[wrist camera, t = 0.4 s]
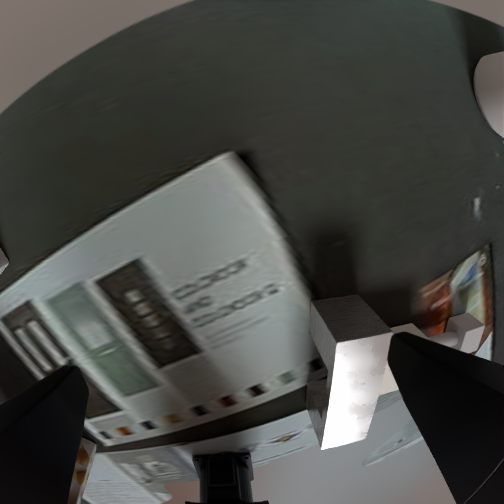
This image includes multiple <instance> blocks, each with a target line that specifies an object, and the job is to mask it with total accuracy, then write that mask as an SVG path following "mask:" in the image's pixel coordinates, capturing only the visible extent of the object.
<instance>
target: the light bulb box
mask: <svg viewBox="0 0 504 504" xmlns="http://www.w3.org/2000/svg"><path fill="white" fill-rule="evenodd" d="M8 264H9V261H8V259H7V258H6V256H5V255H4V253H3V251H2V250H1V248H0V274H1V273H2V272H3V270H4V269H5V268H6V267H7V265H8Z"/></svg>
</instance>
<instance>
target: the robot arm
mask: <svg viewBox="0 0 504 504" xmlns="http://www.w3.org/2000/svg"><path fill="white" fill-rule="evenodd" d="M387 362H388V365H389V368H390V370H391V372H392V375H393V377H394V379H395V382H396V384H397V386H398V389H399V391H400V394H401V396H402V398H403V400H404V402H405V405H406V407H407V408H408V410H409V412H410V414H411V416H412V418H413V419H414V421H415V423H416V425H417V427H418V429H419V430H420V432H421V434H422V436H423V438H424V440H425V442H426V444H427V446H428V447H429V449H430V451H431V453H432V455H433V457H434V459H435V461H436V463H437V465H438V467H439V469H440V471H441V473H442V475H443V477H444V479H445V481H446V483H447V485H448V487H449V489H450V491H451V493H452V495H453V497H454V500H455V502H456V504H504V365H503V366H502V365H501V364H498V363H495V362H492V361H489V360H486V359H484V358H481V357H478V356H475V355H472V354H469V353H466V352H463V351H460V350H457V349H454V348H451V347H448V346H446V345H443V344H440V343H437V342H434V341H431V340H428V339H426V338H423V337H420V336H417V335H414V334H411V333H409V332H406V331H403V332H399V333H395V334H393V335H392V336H391V339H390V345H389V350H388V355H387ZM88 397H89V389H88V386H87V384H86V381H85V379H84V377H83V375H82V372H81V370H80V368H79V367H78V366H76V365H64V366H63V367H61V368H59V369H58V370H56V371H55V372H53V373H51V374H50V375H48V376H46V377H45V378H43V379H42V380H40V381H38V382H37V383H35V384H34V385H32V386H30V387H29V388H27V389H26V390H24V391H22V392H21V393H19V394H17V395H16V396H14V397H13V398H11V399H9V400H8V401H6V402H5V403H3V404H1V405H0V504H68V499H69V493H70V488H71V483H72V478H73V473H74V469H75V464H76V460H77V455H78V451H79V447H80V443H81V439H82V434H83V428H84V421H85V414H86V408H87V402H88ZM192 461H193V463H194V466H195V468H196V471H197V473H198V476H199V478H200V503H195V502H188V501H186V502H185V504H269V502H268V500H267V501H263V502H253V497H252V489H251V481H252V480H253V479H254V478H253V469H252V461H251V454H250V453H237V454H222V455H196V456H193V458H192Z"/></svg>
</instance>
